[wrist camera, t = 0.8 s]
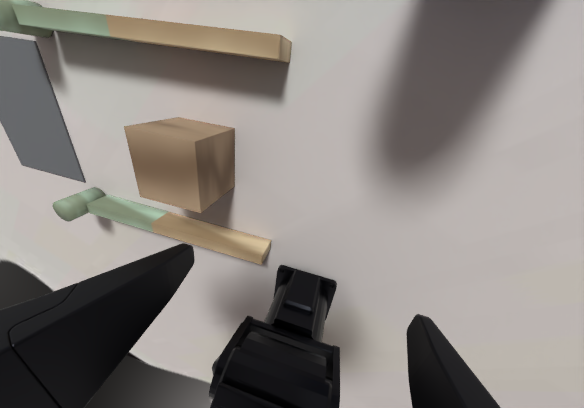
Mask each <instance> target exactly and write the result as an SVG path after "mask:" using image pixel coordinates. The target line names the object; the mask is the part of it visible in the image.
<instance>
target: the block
mask: <svg viewBox="0 0 584 408" xmlns="http://www.w3.org/2000/svg"><path fill="white" fill-rule="evenodd" d="M124 129H125V133H126V138H127V142H128V146H129V150H130V155H131V159H132V163H133V168H134V172H135V176H136V181H137V185H138V189H139V193H140V197H143V198H147V199H150V200H154V201H158V202H161V203H165V204H169V205H172V206H176V207H180V208H183V209H187V210H191V211H194V212H198V213H202V212H203V211H204V210H206V209H207V208H208V207H209V206H211V205H212V204H213V203H214V202H216V201H217V200H218V199H219V198H221V197H222V196H223V195H224V194H226V193H227V192H228V191H229V190H231V189H232V188H233V187H234V186H235V128H230V127H225V126H220V125H215V124H210V123H205V122H200V121H195V120H189V119H184V118H179V117H178V118H172V119H166V120H160V121H154V122H148V123H142V124H136V125H130V126H124Z"/></svg>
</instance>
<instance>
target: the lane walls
mask: <svg viewBox="0 0 584 408" xmlns="http://www.w3.org/2000/svg"><path fill="white" fill-rule="evenodd" d="M0 30H1V31H7V32H14V33H20V34H26V35H33V36H39V37H45V38H49V37H50V36H51V35H52V32H53V30H54V31H60V32H67V33H75V34H82V35H89V36H97V37H104V38H111V39H119V40H126V41H133V42H141V43H148V44H155V45H163V46H170V47H177V48H185V49H192V50H199V51H207V52H214V53H221V54H229V55H236V56H243V57H250V58H258V59H265V60H272V61H280V62H287V63H290V54H291V44H292V42H291V41H289V40H288V39H286V38H285V37H283V36H282V35H277V34H269V33H260V32H251V31H243V30H234V29H225V28H217V27H208V26H200V25H191V24H182V23H174V22H165V21H156V20H148V19H139V18H130V17H122V16H113V15H104V14H96V13H87V12H78V11H70V10H61V9H52V8H44V7H42V6H41V5H40V4H38V3H35V2H31V1H28V0H0ZM53 208H54V210H55V212H56V213H57V215H58V216H59V217H61V218H62V219H63V220H65V221H72V220H74V219H76V218H78V217H80V216H82V215H84V214H87V213H91V214H94V215H98V216H101V217H104V218H108V219H111V220H114V221H118V222H121V223H124V224H127V225H131V226H134V227H137V228H141V229H144V230H147V231H151V232H154V233H157V234H161V235H164V236H167V237H171V238H174V239H177V240H181V241H184V242H187V243H191V244H194V245H197V246H201V247H204V248H207V249H211V250H214V251H217V252H221V253H224V254H227V255H231V256H234V257H237V258H241V259H244V260H247V261H250V262H254V263H257V264H260V265H262V263H263V261H264V259H265V258H266V256H267V254H268V252H269V250H270V246H271V240H268V239H264V238H261V237H257V236H254V235H250V234H246V233H243V232H239V231H236V230H232V229H228V228H225V227H221V226H218V225H214V224H211V223H207V222H203V221H200V220H196V219H193V218H189V217H185V216H182V215H178V214H175V213H171V212H168V211H164V210H160V209H157V208H153V207H150V206H146V205H142V204H139V203H135V202H132V201H128V200H125V199H121V198H117V197H114V196H110V195H105V194H104V192H103V191H101V190H100V189H99V188H96V187H93V188H91V189H88V190H85V191H83V192H80V193H77V194H75V195H72V196H69V197H67V198H64V199H61V200H59V201H56V202H54V203H53Z"/></svg>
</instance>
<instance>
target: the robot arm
mask: <svg viewBox="0 0 584 408" xmlns="http://www.w3.org/2000/svg"><path fill="white" fill-rule="evenodd" d="M193 264H194V251H193V247H192V246H191V245H188V244H184V243H183V244H179V245H177V246H174V247H171V248H169V249H166V250H164V251H161V252H158V253H156V254H153V255H150V256H148V257H145V258H142V259H140V260H137V261H134V262H132V263H129V264H126V265H124V266H121V267H118V268H116V269H113V270H110V271H108V272H105V273H102V274H100V275H97V276H94V277H92V278H89V279H86V280H84V281H81V282H79V283H76V284H73V285H70V286H68V287H65V288H62V289H60V290H57V291H54V292H51V293H49V294H46V295H43V296H40V297H37V298H34V299H31V300H28V301H25V302H22V303H19V304H16V305H13V306H10V307H7V308H4V309H1V310H0V408H84V407H85V406H86V405H87V403H88V402H89V401H90V400H91V398H92V397H93V396H94V395H95V393H96V392H97V391H98V390H99V388H100V387H101V386H102V385H103V383H104V382H105V381H106V380H107V378H108V377H109V376H110V375H111V373H112V372H113V371H114V370H115V368H116V367H117V366H118V365H119V363H120V362H121V361H122V360H123V358H124V357H125V356H126V355H127V353H128V352H129V351H130V350H131V348H132V347H133V346H134V345H135V343H136V342H137V341H138V340H139V338H140V337H141V336H142V335H143V333H144V332H145V331H146V329H147V328H148V327H149V326H150V324H151V323H152V322H153V321H154V319H155V318H156V317H157V316H158V314H159V313H160V312H161V311H162V309H163V308H164V307H165V306H166V304H167V303H168V302H169V301H170V299H171V298H172V297H173V295H174V294H175V292H176V291H177V289H178V288H179V286H180V285H181V283H182V282H183V280H184V278H185V277H186V275H187V274H188V272H189V271H190V269H191V268H192V266H193ZM281 269H282V270H281ZM331 284H332V285H331ZM336 287H337V283H336V281H334V280H331V279H328V278H324V277H321V276H318V275H314V274H311V273H308V272H304V271H301V270H297V269H294V268H291V267H287V266H284V265H280V266H279V268H278V271H277V278H276V286H275V293H274V300H273V302H272V305H271V307H270V310H269V312H268V314H267V317H266V319H265V322H262V321H259V320H256V319H253V317H250V316H247V317H246V319H245V320H244V322H243V323H241V324H240V326H239V328H238V329H237V331H236V332H235V334H234V335H233V337H232V338H231V340H230V341H229V343H228V344H227V346H226V347H225V349H224V350H223V352H222V354H221V355H220V356H219V357H218V358H217V359H216V361H215V362H214V364H213V366H212V371H213V379H212V382H211V386H210V391H209V397H210V398H211V399H213V401H212V404H211V407H210V408H339V402H340V347H337V346H334V345H333V346H331V345H328V344H325V343H322V336H323V329H324V323H325V320H326V318H327V315H328V312H329V309H330V306H331V303H332V300H333V297H334V294H335V291H336ZM407 353H408V375H409V386H410V393H411V400H412V406H413V408H500V406H499V405H498V404H497V402H496V401H495V400H494V399H493V397H492V396H491V395H490V393H489V392H488V391H487V390H486V388H485V387H484V386H483V385H482V383H481V382H480V381H479V379H478V378H477V377H476V376H475V374H474V373H473V372H472V371H471V369H470V368H469V367H468V365H467V364H466V363H465V362H464V360H463V359H462V358H461V357H460V355H459V354H458V353H457V351H456V350H455V349H454V348H453V346H452V345H451V344H450V343H449V341H448V340H447V339H446V337H445V336H444V335H443V334H442V332H441V331H440V330H439V329H438V327H437V326H436V325H435V323H434V322H433V321H432V320H431V319H430V318H429V317H426V316H423V315H420V314H417V315H416V316H415V317H414V319H413V320H412V322H411V323H410V325H409V327H408V329H407Z"/></svg>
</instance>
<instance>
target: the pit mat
mask: <svg viewBox="0 0 584 408" xmlns="http://www.w3.org/2000/svg"><path fill="white" fill-rule="evenodd" d="M0 121H1V123H2V125H3V127H4V129H5V132H6V134H7V136H8V138H9V140H10V142H11V144H12V146H13V148H14V150H15V152H16V154H17V156H18V158H19V160H20V162H21V164H22V165H23V166H27V167H31V168H34V169H38V170H42V171H45V172H49V173H53V174H56V175H60V176H64V177H67V178H71V179H75V180H78V181H82V182H86V181H85V178H84V175H83V173H82V170H81V167H80V164H79V161H78V158H77V156H76V153H75V150H74V147H73V144H72V142H71V139H70V136H69V133H68V130H67V127H66V125H65V122H64V119H63V116H62V113H61V111H60V108H59V105H58V102H57V99H56V96H55V94H54V91H53V88H52V85H51V82H50V79H49V77H48V74H47V71H46V68H45V65H44V63H43V60H42V57H41V54H40V51H39V48H38V46H37V43H36V41H31V40H24V39H17V38H11V37H4V36H0Z"/></svg>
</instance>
